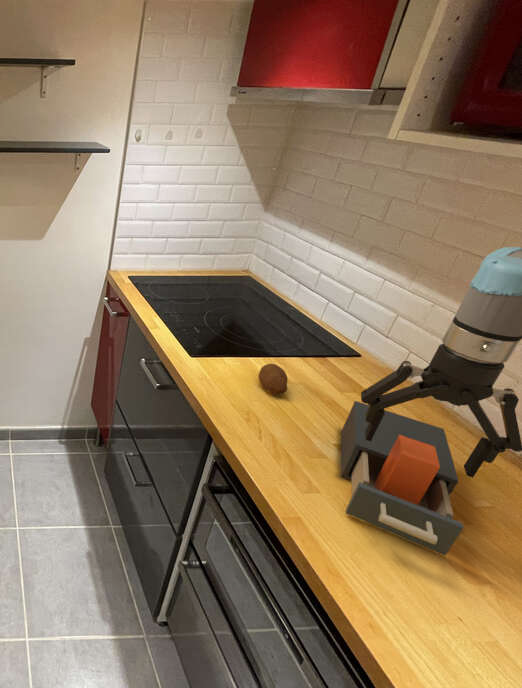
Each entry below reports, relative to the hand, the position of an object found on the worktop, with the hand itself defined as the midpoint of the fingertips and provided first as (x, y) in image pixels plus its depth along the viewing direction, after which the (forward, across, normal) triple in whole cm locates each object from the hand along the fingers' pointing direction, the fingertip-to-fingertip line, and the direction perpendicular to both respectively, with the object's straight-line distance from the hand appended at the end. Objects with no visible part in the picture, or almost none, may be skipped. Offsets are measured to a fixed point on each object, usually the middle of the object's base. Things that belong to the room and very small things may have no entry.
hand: (415, 453), depth 79 cm
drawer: (+12, 0, -2) cm, 13 cm away
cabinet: (+13, 0, +12) cm, 18 cm away
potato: (+14, -23, +29) cm, 39 cm away
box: (+11, 0, 0) cm, 11 cm away
